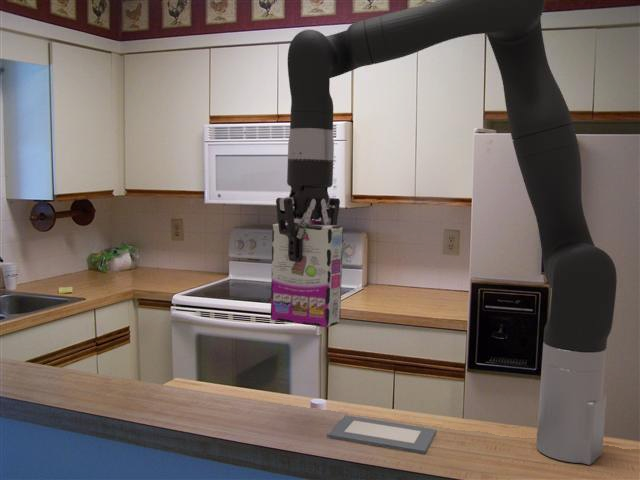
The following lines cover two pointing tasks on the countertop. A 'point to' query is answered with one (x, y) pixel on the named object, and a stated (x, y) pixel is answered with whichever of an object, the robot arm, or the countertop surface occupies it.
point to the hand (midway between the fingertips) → (307, 259)
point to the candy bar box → (308, 277)
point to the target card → (383, 434)
